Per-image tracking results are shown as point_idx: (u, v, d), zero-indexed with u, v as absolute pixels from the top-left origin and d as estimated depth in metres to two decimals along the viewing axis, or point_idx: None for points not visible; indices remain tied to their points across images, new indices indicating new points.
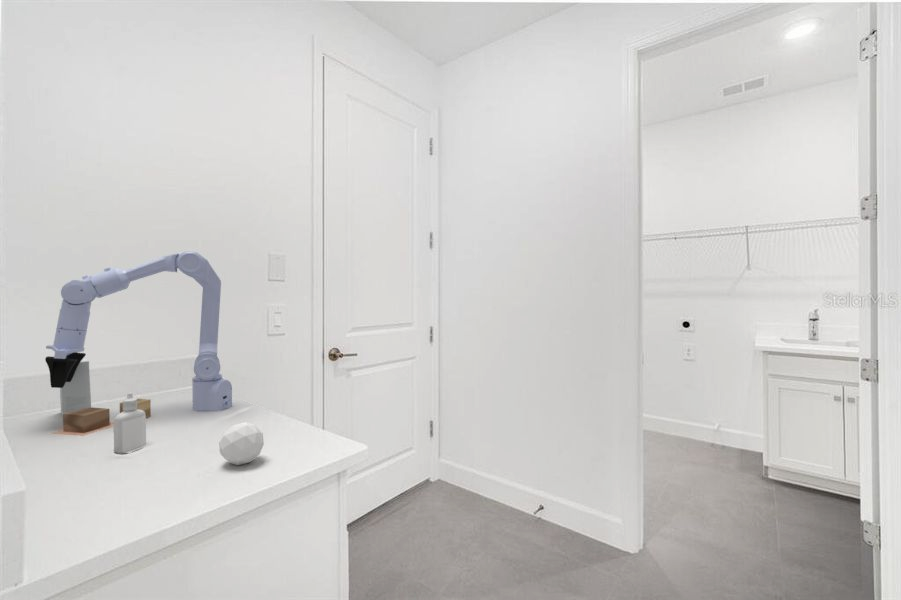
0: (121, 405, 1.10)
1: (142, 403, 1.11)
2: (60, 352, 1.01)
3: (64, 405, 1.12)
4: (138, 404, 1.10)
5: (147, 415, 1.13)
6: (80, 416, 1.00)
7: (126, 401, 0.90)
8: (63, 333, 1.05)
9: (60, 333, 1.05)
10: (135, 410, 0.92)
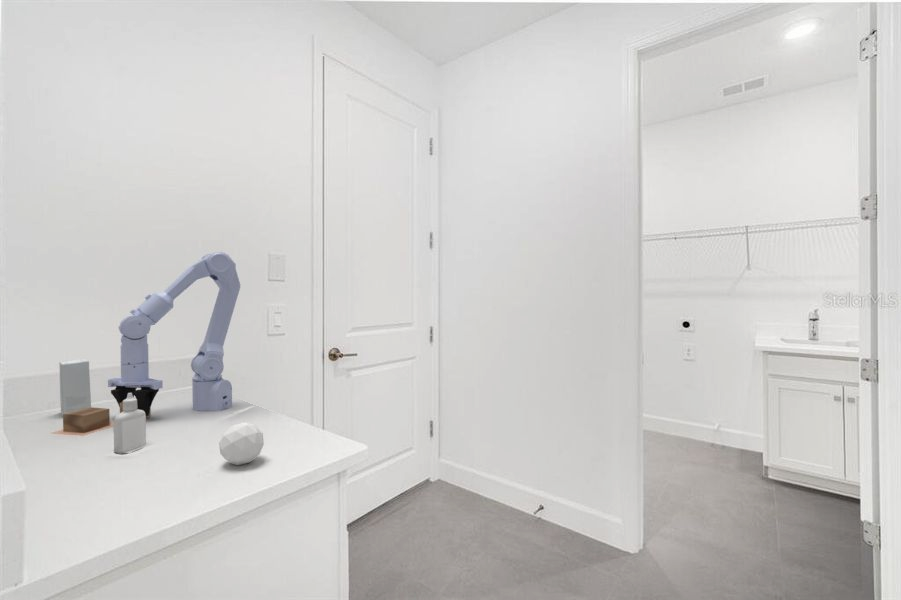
0: (121, 405, 1.10)
1: None
2: (159, 383, 1.10)
3: (64, 405, 1.12)
4: None
5: None
6: (80, 416, 1.00)
7: (126, 401, 0.90)
8: (140, 367, 1.10)
9: (137, 368, 1.10)
10: (135, 410, 0.92)
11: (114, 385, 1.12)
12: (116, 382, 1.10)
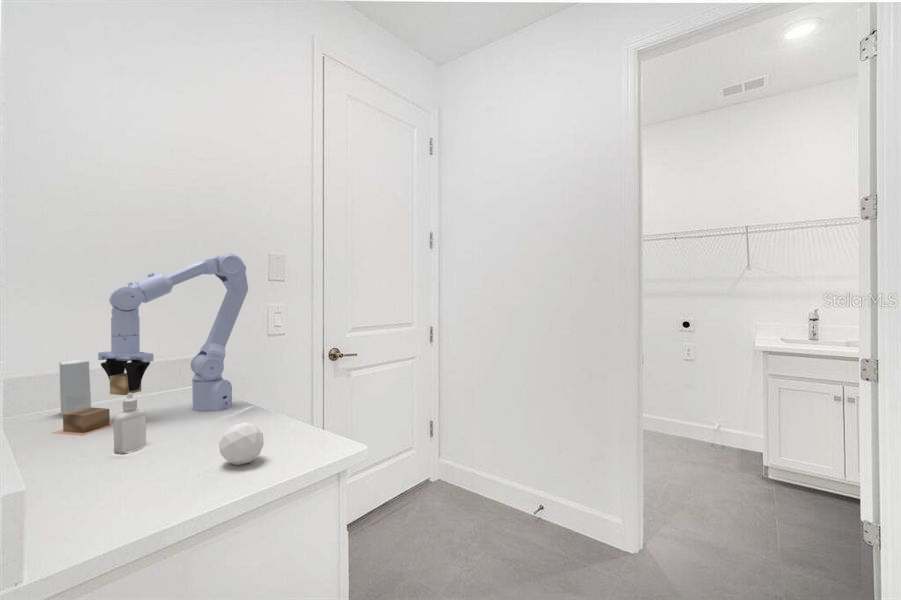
0: (111, 378, 1.08)
1: None
2: (150, 355, 1.08)
3: (64, 405, 1.12)
4: None
5: (138, 389, 1.11)
6: (80, 416, 1.00)
7: (126, 401, 0.90)
8: (131, 340, 1.08)
9: (127, 340, 1.08)
10: (135, 410, 0.92)
11: (104, 358, 1.11)
12: (106, 355, 1.09)
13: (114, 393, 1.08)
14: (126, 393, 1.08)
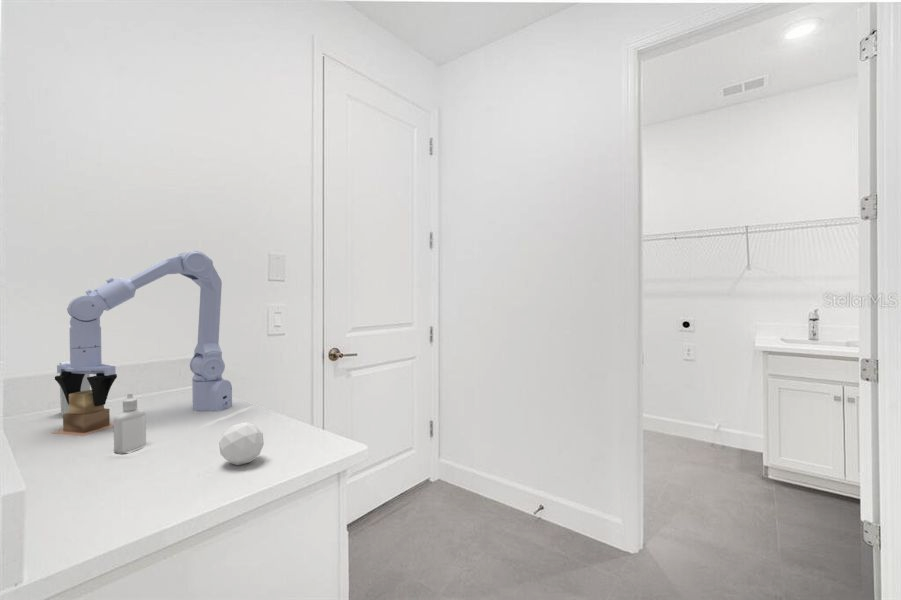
0: (70, 396, 1.02)
1: None
2: (111, 368, 1.02)
3: (64, 405, 1.12)
4: (89, 395, 1.02)
5: (100, 407, 1.05)
6: (80, 416, 1.00)
7: (126, 401, 0.90)
8: (91, 352, 1.02)
9: (87, 352, 1.01)
10: (135, 410, 0.92)
11: (64, 371, 1.04)
12: (65, 368, 1.02)
13: (74, 412, 1.02)
14: (86, 412, 1.01)
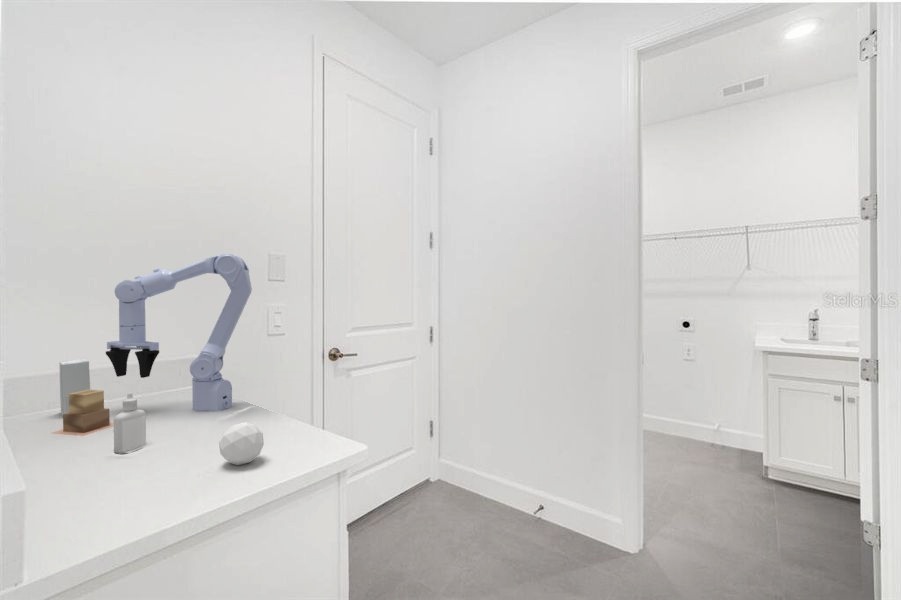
0: (70, 396, 1.02)
1: (94, 394, 1.03)
2: (155, 344, 1.16)
3: (64, 405, 1.12)
4: (89, 395, 1.02)
5: (100, 407, 1.05)
6: (80, 416, 1.00)
7: (126, 401, 0.90)
8: (137, 330, 1.16)
9: (134, 330, 1.15)
10: (135, 410, 0.92)
11: (113, 347, 1.18)
12: (115, 344, 1.16)
13: (74, 412, 1.02)
14: (86, 412, 1.01)
